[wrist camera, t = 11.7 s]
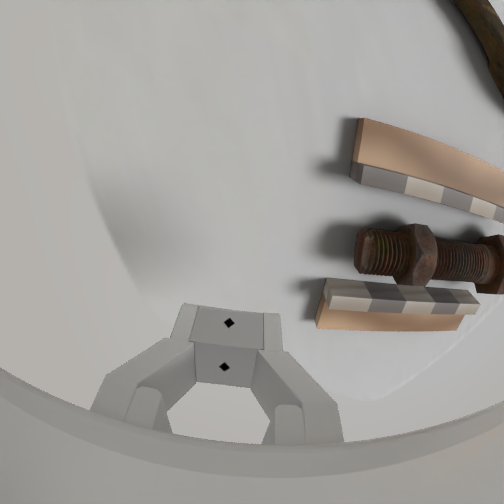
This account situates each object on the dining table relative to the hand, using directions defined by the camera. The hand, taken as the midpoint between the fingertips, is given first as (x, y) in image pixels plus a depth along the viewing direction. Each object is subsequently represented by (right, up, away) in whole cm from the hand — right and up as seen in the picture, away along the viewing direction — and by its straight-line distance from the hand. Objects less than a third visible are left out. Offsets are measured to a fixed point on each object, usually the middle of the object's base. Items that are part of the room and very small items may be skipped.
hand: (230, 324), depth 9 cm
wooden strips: (+15, +3, +11) cm, 19 cm away
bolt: (+16, +3, +11) cm, 19 cm away
